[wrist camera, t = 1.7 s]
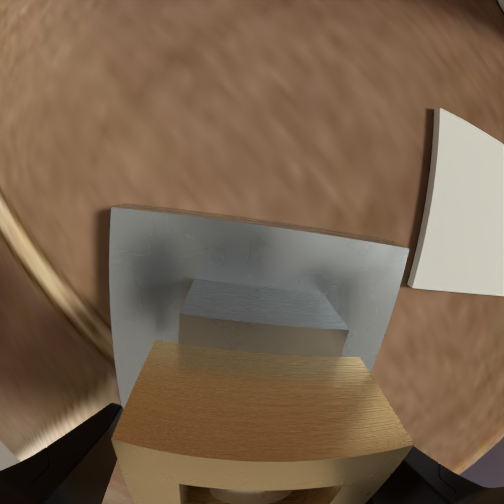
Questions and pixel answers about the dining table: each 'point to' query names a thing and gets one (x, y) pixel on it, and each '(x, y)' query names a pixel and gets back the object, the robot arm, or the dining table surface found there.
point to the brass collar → (255, 427)
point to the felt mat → (462, 212)
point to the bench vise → (245, 292)
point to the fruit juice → (501, 4)
